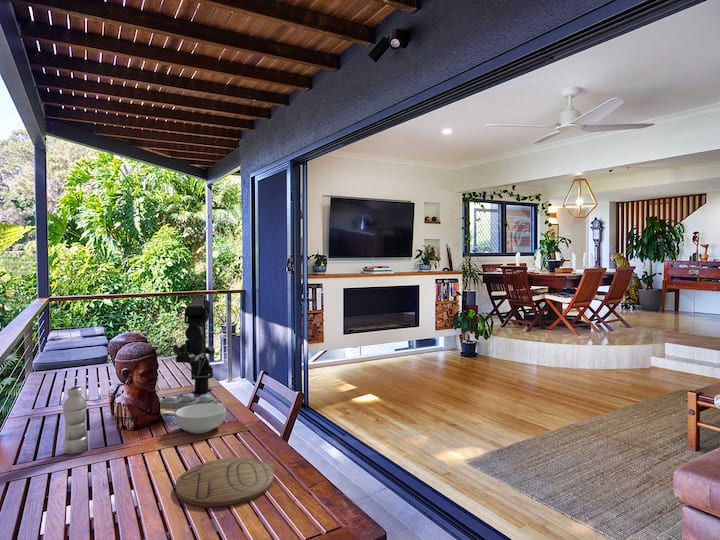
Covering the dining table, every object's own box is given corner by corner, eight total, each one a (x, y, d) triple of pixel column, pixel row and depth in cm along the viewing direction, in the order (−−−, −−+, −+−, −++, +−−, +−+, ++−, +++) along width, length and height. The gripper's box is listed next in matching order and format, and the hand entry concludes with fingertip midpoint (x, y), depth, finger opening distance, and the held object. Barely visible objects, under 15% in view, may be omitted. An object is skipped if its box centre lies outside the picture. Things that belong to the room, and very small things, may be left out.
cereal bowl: (235, 429, 164) (235, 409, 163) (190, 442, 151) (190, 421, 151) (210, 418, 175) (210, 399, 175) (166, 430, 163) (166, 410, 163)
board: (169, 402, 194) (169, 394, 194) (223, 405, 190) (223, 397, 190) (148, 413, 180) (148, 405, 180) (205, 417, 176) (205, 408, 176)
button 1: (169, 402, 190) (169, 395, 190) (179, 403, 189) (179, 395, 189) (162, 405, 186) (162, 398, 186) (172, 406, 185) (172, 399, 185)
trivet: (177, 519, 107) (177, 510, 107) (173, 473, 130) (173, 466, 130) (283, 496, 117) (283, 489, 117) (263, 458, 140) (263, 451, 140)
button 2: (186, 400, 189) (186, 393, 189) (196, 401, 188) (195, 393, 188) (179, 403, 184) (179, 396, 184) (190, 404, 183) (190, 396, 183)
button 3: (203, 401, 187) (203, 394, 187) (213, 402, 186) (213, 394, 186) (197, 404, 183) (197, 397, 183) (207, 405, 182) (207, 397, 182)
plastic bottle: (62, 458, 139) (61, 392, 139) (64, 450, 145) (63, 386, 145) (87, 454, 142) (86, 389, 142) (88, 446, 148) (87, 384, 148)
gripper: (191, 333, 195) (191, 370, 196) (163, 340, 177) (163, 381, 177) (215, 333, 193) (215, 371, 193) (189, 340, 175) (189, 382, 175)
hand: (196, 376), depth 185 cm, fingers closed
